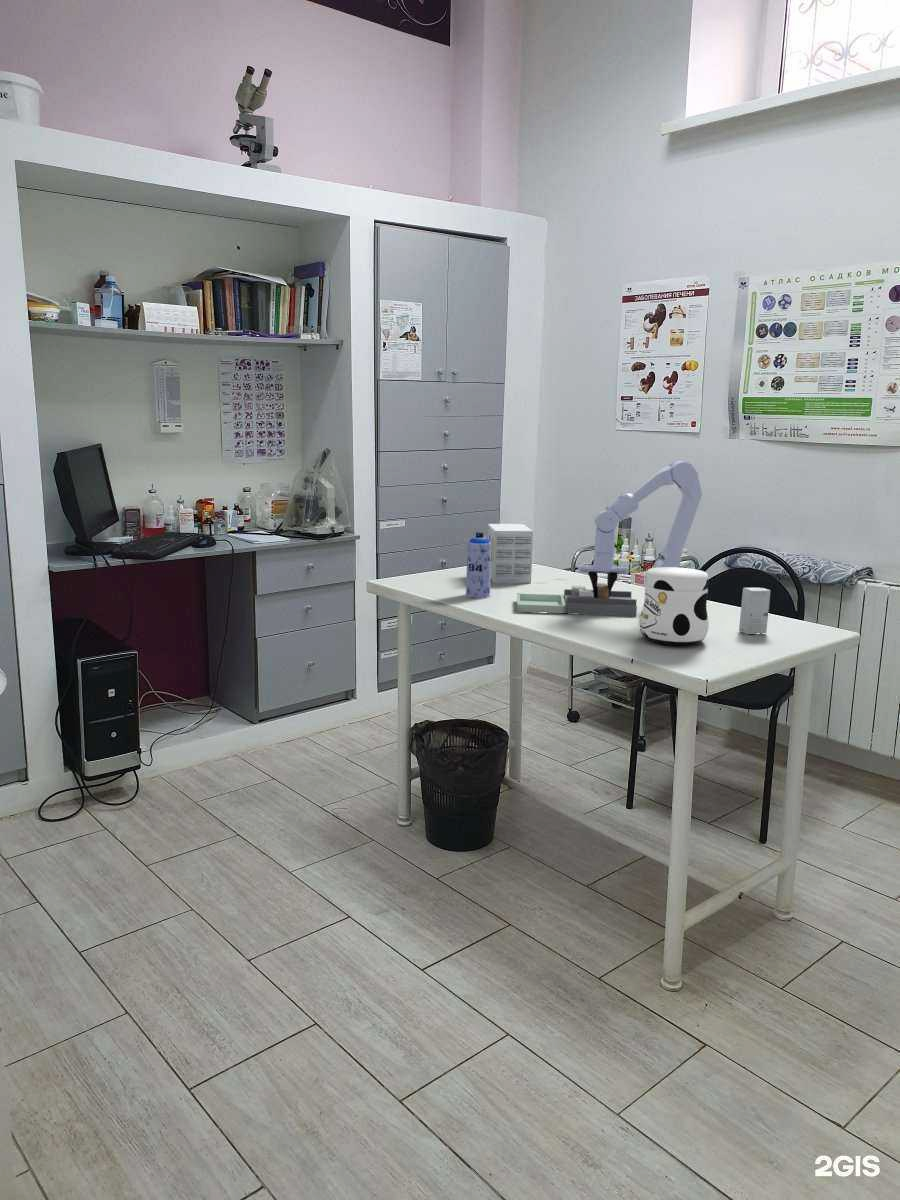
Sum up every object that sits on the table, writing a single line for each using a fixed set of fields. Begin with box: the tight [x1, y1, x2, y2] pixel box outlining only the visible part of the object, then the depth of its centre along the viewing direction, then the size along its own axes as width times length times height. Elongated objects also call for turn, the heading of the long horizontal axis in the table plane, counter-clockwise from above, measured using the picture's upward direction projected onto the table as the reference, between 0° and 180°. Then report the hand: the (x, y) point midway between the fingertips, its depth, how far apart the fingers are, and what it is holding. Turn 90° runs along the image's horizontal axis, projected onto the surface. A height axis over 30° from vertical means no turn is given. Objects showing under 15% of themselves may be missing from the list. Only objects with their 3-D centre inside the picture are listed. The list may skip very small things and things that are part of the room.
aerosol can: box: [465, 532, 491, 599], centre depth 283 cm, size 8×8×20 cm
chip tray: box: [516, 592, 566, 613], centre depth 270 cm, size 14×16×2 cm
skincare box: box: [738, 587, 771, 635], centre depth 243 cm, size 6×4×12 cm
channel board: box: [563, 588, 638, 617], centre depth 269 cm, size 20×15×4 cm
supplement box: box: [487, 523, 534, 584], centre depth 312 cm, size 17×13×18 cm
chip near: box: [578, 588, 594, 598], centre depth 266 cm, size 4×4×3 cm
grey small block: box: [570, 585, 587, 597], centre depth 271 cm, size 4×4×3 cm
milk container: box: [638, 567, 710, 646], centre depth 233 cm, size 17×17×18 cm
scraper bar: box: [597, 582, 609, 598], centre depth 268 cm, size 3×9×4 cm, turn 176°
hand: (601, 597), depth 269 cm, fingers closed on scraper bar, 3 cm apart
